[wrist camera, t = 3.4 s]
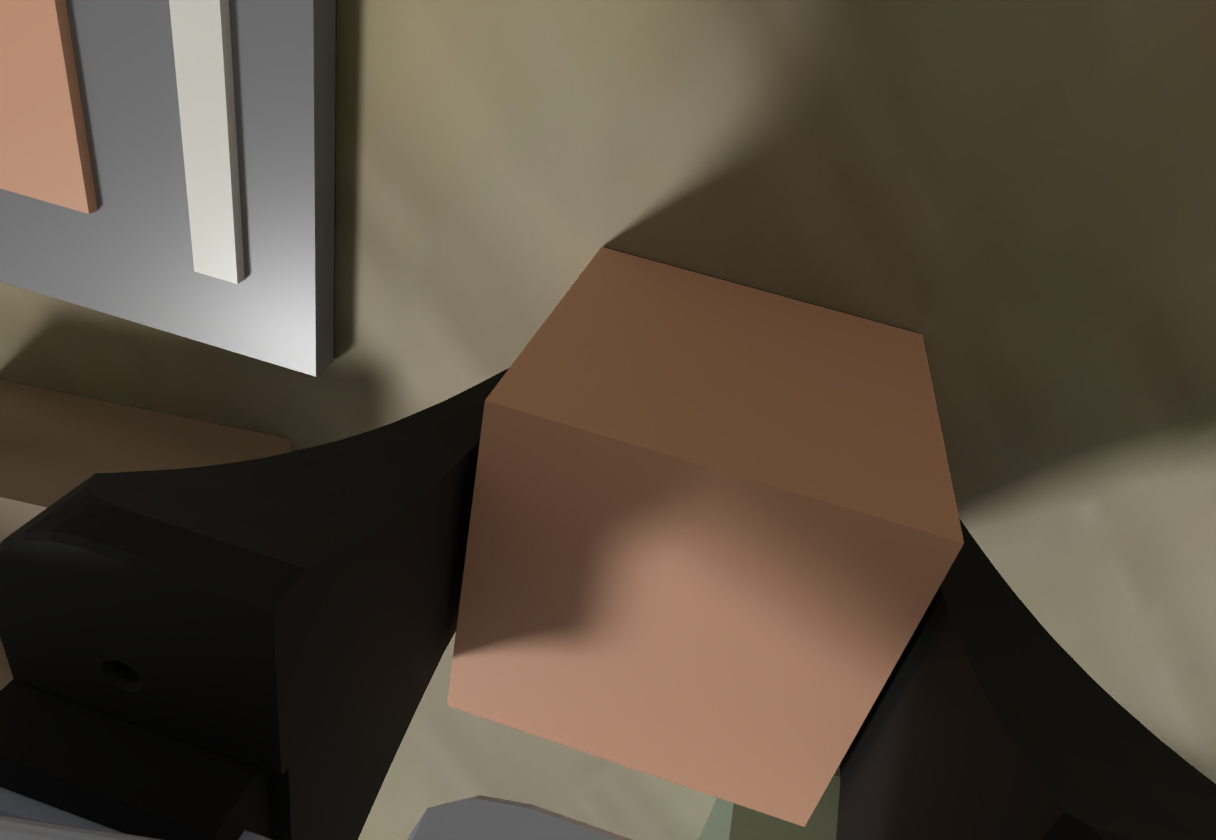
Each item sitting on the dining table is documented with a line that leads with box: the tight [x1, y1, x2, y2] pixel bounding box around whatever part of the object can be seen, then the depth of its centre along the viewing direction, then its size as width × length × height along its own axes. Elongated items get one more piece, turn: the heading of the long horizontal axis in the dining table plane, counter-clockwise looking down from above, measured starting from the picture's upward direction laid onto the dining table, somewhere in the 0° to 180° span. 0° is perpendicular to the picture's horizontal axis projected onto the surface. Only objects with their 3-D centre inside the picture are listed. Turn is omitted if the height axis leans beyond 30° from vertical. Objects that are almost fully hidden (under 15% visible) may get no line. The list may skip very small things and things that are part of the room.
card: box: [0, 0, 336, 377], centre depth 13 cm, size 8×10×1 cm
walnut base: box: [0, 380, 292, 690], centre depth 18 cm, size 7×7×4 cm
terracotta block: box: [447, 247, 964, 827], centre depth 12 cm, size 5×5×5 cm
